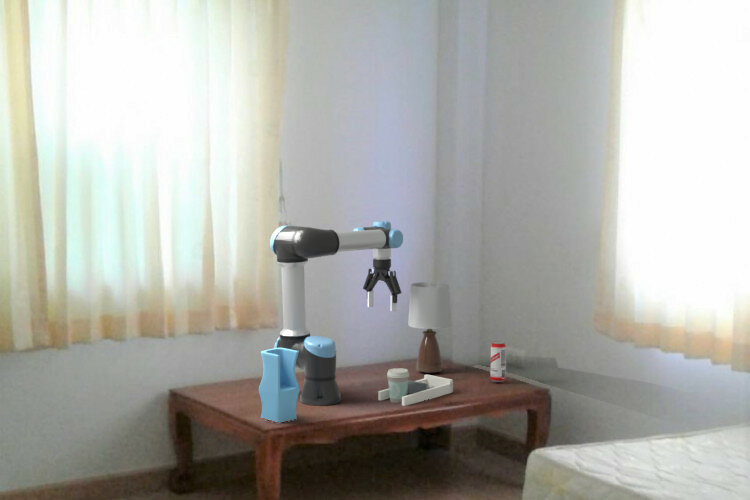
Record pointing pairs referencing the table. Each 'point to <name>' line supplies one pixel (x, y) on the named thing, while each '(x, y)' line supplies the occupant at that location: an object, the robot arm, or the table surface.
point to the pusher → (417, 387)
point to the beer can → (498, 361)
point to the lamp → (429, 320)
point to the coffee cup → (397, 384)
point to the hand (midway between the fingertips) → (381, 308)
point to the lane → (440, 388)
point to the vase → (279, 385)
